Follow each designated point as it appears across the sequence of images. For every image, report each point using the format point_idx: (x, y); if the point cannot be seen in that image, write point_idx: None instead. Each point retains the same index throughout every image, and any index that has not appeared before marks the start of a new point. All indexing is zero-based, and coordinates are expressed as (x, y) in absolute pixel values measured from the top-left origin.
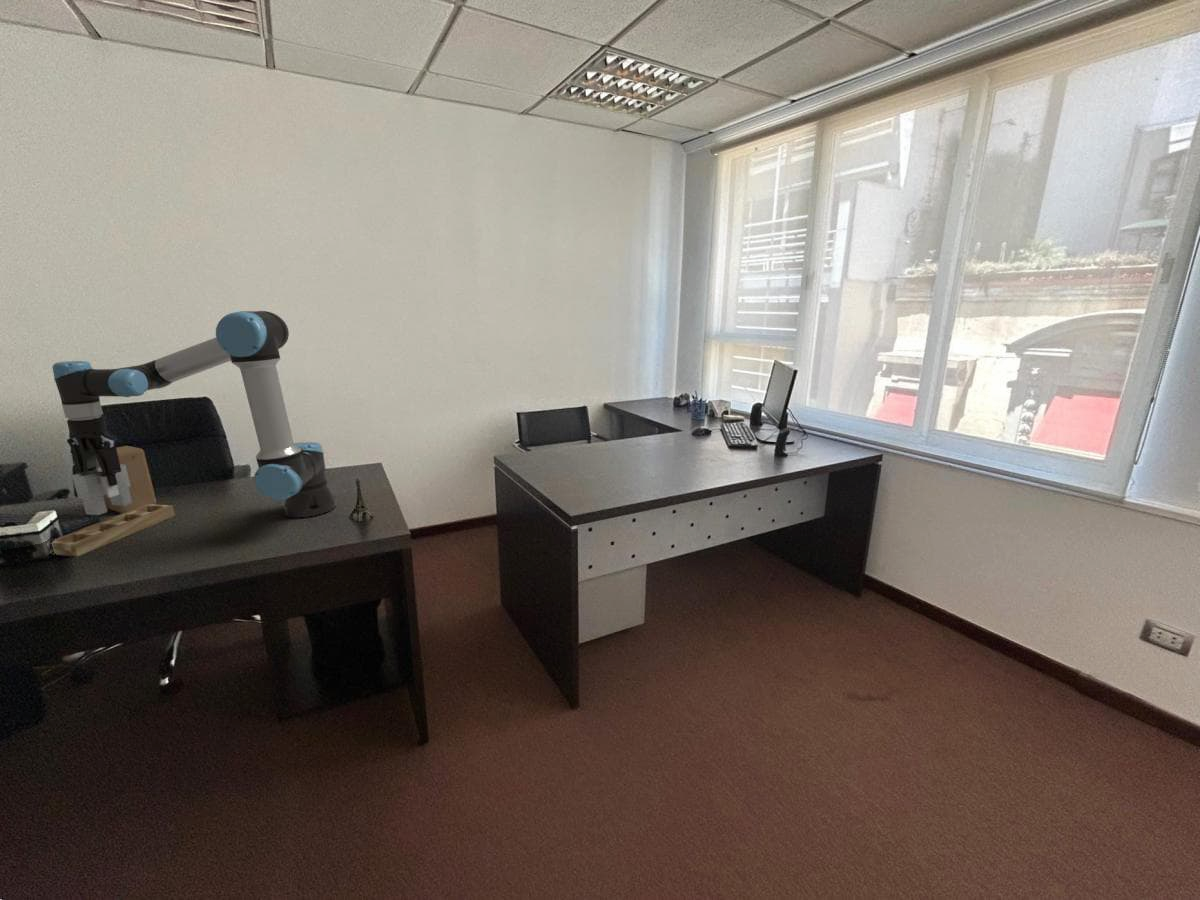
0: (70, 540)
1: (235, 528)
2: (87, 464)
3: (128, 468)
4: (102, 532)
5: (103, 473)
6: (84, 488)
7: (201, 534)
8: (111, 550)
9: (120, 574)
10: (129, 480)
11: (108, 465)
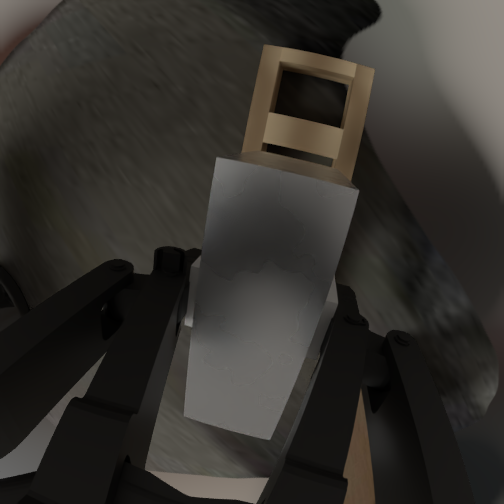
0: (345, 114)
1: (39, 225)
2: (321, 365)
3: (354, 471)
4: (254, 132)
5: (182, 278)
6: (269, 157)
7: (72, 194)
8: (207, 92)
9: (101, 6)
10: (356, 434)
11: (85, 294)
